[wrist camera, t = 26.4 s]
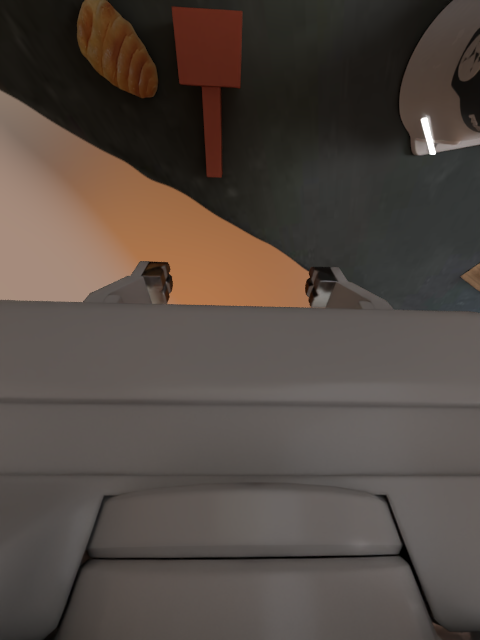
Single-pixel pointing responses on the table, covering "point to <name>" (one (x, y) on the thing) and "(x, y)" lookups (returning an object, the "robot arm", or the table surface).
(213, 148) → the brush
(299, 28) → the table surface
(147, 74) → the pastry
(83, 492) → the robot arm
